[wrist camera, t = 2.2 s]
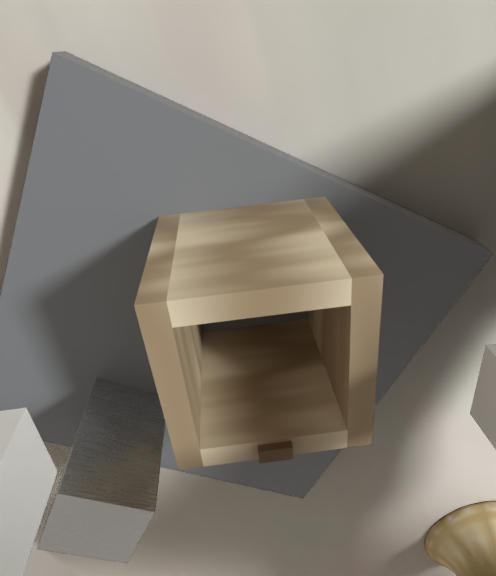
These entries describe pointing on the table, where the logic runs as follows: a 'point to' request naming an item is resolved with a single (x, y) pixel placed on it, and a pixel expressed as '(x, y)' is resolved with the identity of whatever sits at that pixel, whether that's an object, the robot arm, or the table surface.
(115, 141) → the base board
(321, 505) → the table surface
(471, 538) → the hand bell
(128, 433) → the steel block
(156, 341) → the hollow wooden cube frame
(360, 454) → the table surface
